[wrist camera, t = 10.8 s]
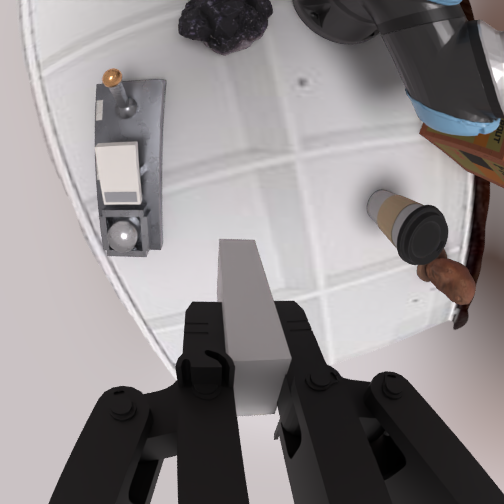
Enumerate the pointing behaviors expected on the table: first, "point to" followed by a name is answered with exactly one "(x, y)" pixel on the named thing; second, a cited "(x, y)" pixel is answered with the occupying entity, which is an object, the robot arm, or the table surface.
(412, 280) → the table surface
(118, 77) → the toggle
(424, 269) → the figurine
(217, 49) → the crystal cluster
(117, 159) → the plate
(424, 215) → the coffee cup
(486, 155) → the box
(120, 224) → the button
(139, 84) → the panel
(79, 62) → the table surface
